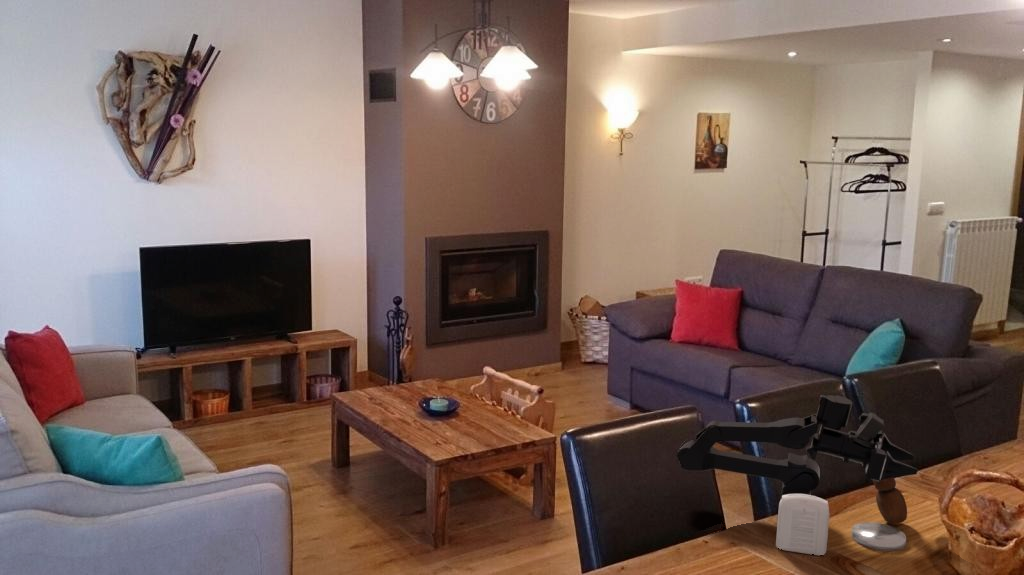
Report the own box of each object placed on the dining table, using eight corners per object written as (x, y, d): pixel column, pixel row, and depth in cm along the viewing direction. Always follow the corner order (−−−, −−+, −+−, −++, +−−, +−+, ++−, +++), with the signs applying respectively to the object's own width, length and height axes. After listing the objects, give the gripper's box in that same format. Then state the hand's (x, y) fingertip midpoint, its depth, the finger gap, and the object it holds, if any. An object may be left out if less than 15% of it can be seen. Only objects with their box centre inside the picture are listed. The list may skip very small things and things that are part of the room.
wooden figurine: (914, 522, 200) (894, 457, 201) (888, 528, 201) (868, 464, 201) (904, 513, 207) (885, 451, 207) (879, 520, 208) (860, 458, 208)
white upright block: (826, 549, 192) (830, 494, 190) (826, 558, 188) (831, 502, 186) (775, 542, 195) (779, 488, 193) (775, 550, 191) (778, 495, 189)
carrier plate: (850, 545, 194) (851, 538, 193) (852, 525, 204) (852, 519, 203) (906, 554, 190) (907, 548, 189) (905, 533, 200) (905, 527, 199)
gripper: (850, 423, 191) (929, 443, 187) (849, 400, 209) (921, 418, 204) (838, 471, 194) (915, 493, 189) (837, 444, 211) (908, 463, 206)
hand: (915, 464), depth 197 cm, fingers open, 9 cm apart
